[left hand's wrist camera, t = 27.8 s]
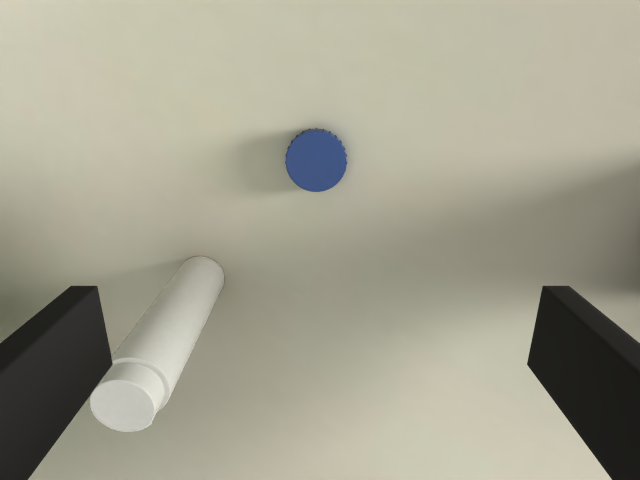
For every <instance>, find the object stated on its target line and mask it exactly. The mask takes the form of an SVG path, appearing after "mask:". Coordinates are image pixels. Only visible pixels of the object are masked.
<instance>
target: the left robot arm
mask: <svg viewBox="0 0 640 480" xmlns="http://www.w3.org/2000/svg"><path fill="white" fill-rule="evenodd" d="M112 365H113V363H112V358H111V353H110V348H109V343H108V338H107V333H106V328H105V323H104V318H103V313H102V308H101V303H100V298H99V293H98V288H97V286H70V287H69V288H68V289H67V290H66V291H64V292H63V293H62V294H61V295H59V296H58V297H57V298H56V299H54V300H53V301H52V302H51V303H50V304H48V305H47V306H46V307H45V308H43V309H42V310H41V311H40V312H38V313H37V314H36V315H35V316H34V317H32V318H31V319H30V320H29V321H27V322H26V323H25V324H24V325H22V326H21V327H20V328H19V329H18V330H16V331H15V332H14V333H13V334H11V335H10V336H9V337H8V338H6V339H5V340H4V341H3V342H2V343H0V480H28V479H29V477H30V476H31V475H32V473H33V472H34V471H35V469H36V468H37V466H38V465H39V464H40V462H41V461H42V460H43V458H44V457H45V456H46V454H47V453H48V452H49V450H50V449H51V448H52V446H53V445H54V443H55V442H56V441H57V439H58V438H59V437H60V435H61V434H62V433H63V431H64V430H65V429H66V427H67V426H68V424H69V423H70V422H71V420H72V419H73V418H74V416H75V415H76V414H77V412H78V411H79V410H80V408H81V407H82V406H83V404H84V403H85V401H86V400H87V399H88V397H89V396H90V395H91V393H92V392H93V391H94V389H95V388H96V387H97V385H98V384H99V383H100V381H101V380H102V378H103V377H104V376H105V374H106V373H107V372H108V370H109V369H110V368H111V366H112ZM527 365H528V366H529V368H530V369H531V370H532V372H533V373H534V374H535V376H536V377H537V378H538V380H539V381H540V383H541V384H542V385H543V387H544V388H545V389H546V391H547V392H548V393H549V395H550V396H551V397H552V399H553V400H554V401H555V403H556V404H557V406H558V407H559V408H560V410H561V411H562V412H563V414H564V415H565V416H566V418H567V419H568V420H569V422H570V423H571V424H572V426H573V427H574V429H575V430H576V431H577V433H578V434H579V435H580V437H581V438H582V439H583V441H584V442H585V443H586V445H587V446H588V448H589V449H590V450H591V452H592V453H593V454H594V456H595V457H596V458H597V460H598V461H599V462H600V464H601V465H602V466H603V468H604V469H605V471H606V472H607V473H608V475H609V476H610V477H611V479H612V480H640V343H638V342H637V341H636V340H635V339H634V338H632V337H631V336H630V335H629V334H627V333H626V332H625V331H624V330H622V329H621V328H620V327H619V326H618V325H616V324H615V323H614V322H613V321H611V320H610V319H609V318H608V317H606V316H605V315H604V314H603V313H602V312H600V311H599V310H598V309H597V308H595V307H594V306H593V305H592V304H590V303H589V302H588V301H587V300H586V299H584V298H583V297H582V296H581V295H579V294H578V293H577V292H576V291H574V290H573V289H572V288H571V287H569V286H543V288H542V293H541V298H540V303H539V308H538V313H537V318H536V323H535V328H534V333H533V338H532V343H531V348H530V353H529V358H528V363H527Z"/></svg>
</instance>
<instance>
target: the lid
mask: <svg viewBox="0 0 640 480" xmlns="http://www.w3.org/2000/svg"><path fill="white" fill-rule="evenodd" d="M341 143H342V142H341V140H340V141H339V139H338V138H337V136H336V135H333V134H332V133H331V132H330V131H329V132H328V131H326V130H324V129H323V130H322V129H317V128H316V129H309V130H307V131H302V133H301V134H299V135H297V136H296V138H295V139H294V140H292V142H291V145H290V146H289V147H288V152H287V154H286V162H285V163H286V167H287V171H288V174H289V176H290V177H291V179H292V180H293V181H294V183H296V184H297V185H298V186H299V187H301V188H303V189H305V190H308V191H312V192H320V191H325V190H328V189H330V188H332V187H333V186H335V185H336V184H337V183H338V182H339V181H340V180H341V178H342V177H343V175H344V172H345V171H346V164H347V161H346V157H347V155H346V153H345V151H344V150H345V148H344V147H343V145H342V144H341Z"/></svg>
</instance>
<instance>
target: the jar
mask: <svg viewBox="0 0 640 480" xmlns="http://www.w3.org/2000/svg"><path fill="white" fill-rule="evenodd" d="M224 280H225V279H224V273H223V270H222V268H221V267H220V266H219V264H218V263H216V262H215V261H214V260H212V259H210V258H207V257H203V256H196V257H192V258H190V259H188V260H186V261H185V262H184V263H183V264H182V266H181V267H180V268H179V269H178V271H177V272H176V273H175V275H174V276H173V277H172V279H171V280H170V281H169V283H168V284H167V285H166V286H165V288H164V289H163V290H162V292H161V293H160V294H159V296H158V297H157V298H156V300H155V301H154V302H153V304H152V305H151V306H150V307H149V309H148V310H147V311H146V313H145V314H144V315H143V317H142V318H141V319H140V321H139V322H138V323H137V324H136V326H135V327H134V328H133V330H132V331H131V332H130V334H129V335H128V336H127V338H126V339H125V340H124V342H123V343H122V344H121V345H120V347H119V348H118V349H117V351H116V352H115V353H114V355H113V356H112V357H111V358H112V363H113V365H112V366H111V368H110V369H109V370H108V372H107V373H106V374H105V376H104V377H103V378H102V380H101V381H100V383H99V384H98V385H97V387H96V388H95V389H94V391H93V392H92V393H91V396H90V408H91V411H92V413H93V414H94V416H95V417H96V418H97V420H98V421H100V422H101V423H102V424H103V425H105V426H107V427H108V428H111V429H113V430H116V431H121V432H134V431H140V430H142V429H144V428H145V429H146V428H147V427H148V426H150V425H151V424H152V420H153V419H154V417H155V415H156V413H157V411H159V410H161V409H162V408H163V407H164V406H165V405H166V403H167V402H168V400H169V398H170V396H171V394H172V391H173V389H174V387H175V385H176V383H177V381H178V379H179V377H180V375H181V373H182V371H183V368H184V366H185V364H186V362H187V360H188V358H189V356H190V354H191V352H192V350H193V348H194V346H195V343H196V341H197V339H198V337H199V335H200V333H201V331H202V329H203V327H204V325H205V323H206V321H207V318H208V316H209V314H210V312H211V310H212V308H213V306H214V304H215V302H216V300H217V298H218V296H219V293H220V291H221V289H222V287H223V285H224Z"/></svg>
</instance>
